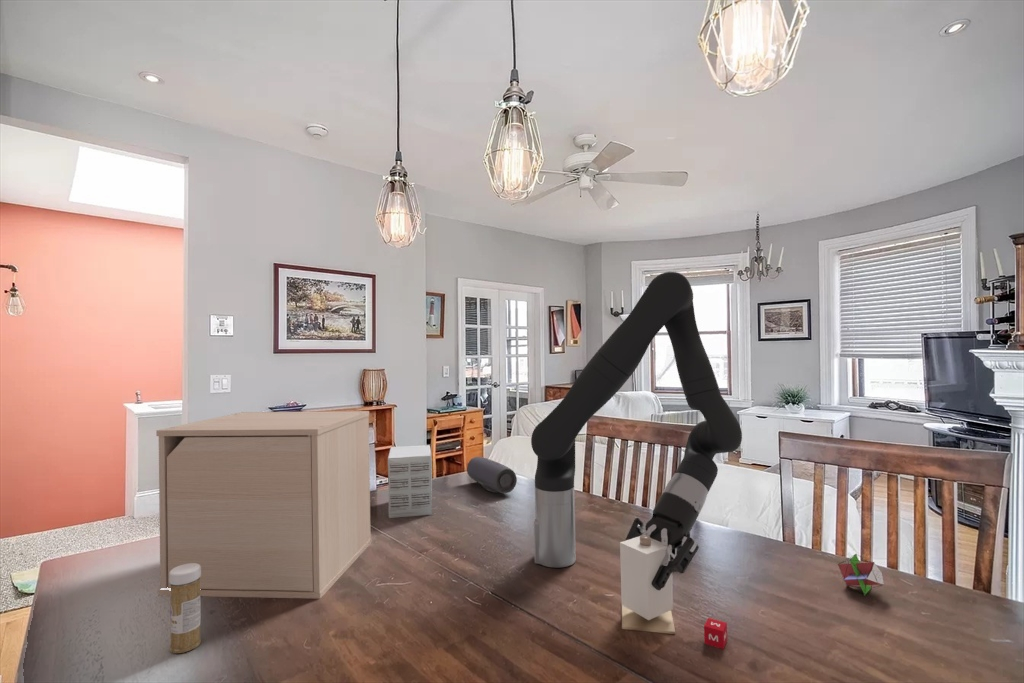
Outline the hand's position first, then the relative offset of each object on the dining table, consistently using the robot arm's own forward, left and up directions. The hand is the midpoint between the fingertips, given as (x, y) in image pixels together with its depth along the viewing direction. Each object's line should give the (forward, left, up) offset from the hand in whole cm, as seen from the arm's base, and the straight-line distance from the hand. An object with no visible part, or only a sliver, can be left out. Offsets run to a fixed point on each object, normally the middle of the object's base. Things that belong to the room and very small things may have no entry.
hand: (640, 579), depth 91 cm
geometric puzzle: (+44, +19, -8) cm, 48 cm away
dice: (+12, -4, -8) cm, 15 cm away
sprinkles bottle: (-76, -22, -8) cm, 80 cm away
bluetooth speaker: (-48, +78, -8) cm, 92 cm away
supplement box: (-68, +54, -8) cm, 88 cm away
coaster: (+1, +1, -7) cm, 8 cm away
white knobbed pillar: (+1, +1, -5) cm, 6 cm away
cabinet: (-82, +9, -8) cm, 83 cm away
